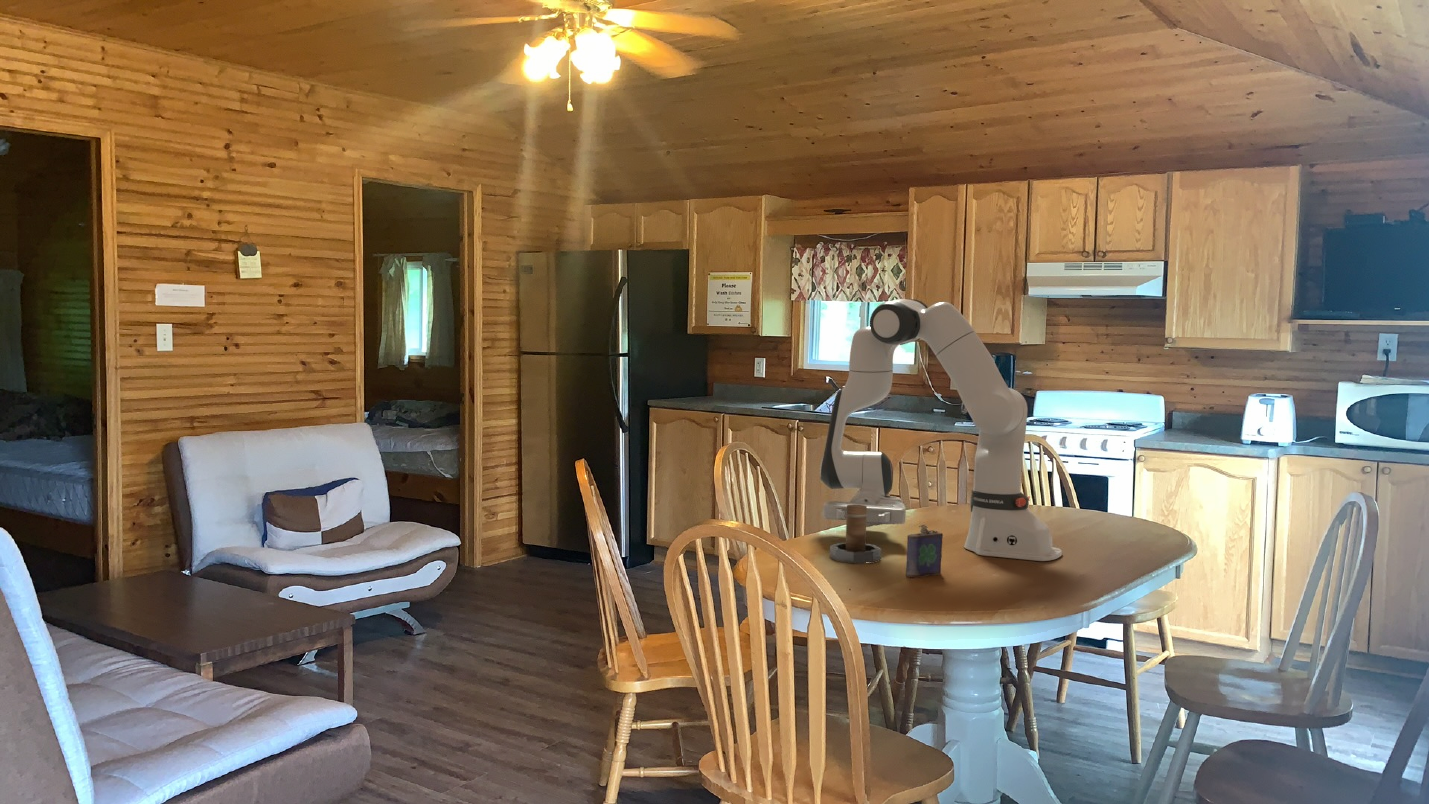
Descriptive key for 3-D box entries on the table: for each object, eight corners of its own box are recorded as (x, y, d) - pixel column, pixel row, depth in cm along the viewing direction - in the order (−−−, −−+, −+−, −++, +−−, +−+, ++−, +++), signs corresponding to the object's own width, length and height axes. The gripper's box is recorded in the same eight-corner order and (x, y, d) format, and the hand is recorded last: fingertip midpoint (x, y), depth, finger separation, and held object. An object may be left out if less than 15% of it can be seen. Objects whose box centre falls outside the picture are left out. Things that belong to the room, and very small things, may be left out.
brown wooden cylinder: (868, 557, 244) (870, 506, 244) (859, 561, 241) (861, 508, 240) (850, 555, 247) (852, 503, 246) (841, 558, 243) (843, 506, 242)
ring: (886, 557, 245) (887, 546, 245) (866, 565, 236) (866, 554, 236) (844, 551, 251) (844, 540, 251) (823, 558, 242) (823, 548, 242)
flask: (911, 578, 225) (912, 528, 224) (901, 575, 227) (903, 525, 227) (943, 574, 229) (945, 525, 229) (934, 571, 232) (936, 522, 231)
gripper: (825, 493, 270) (818, 501, 256) (907, 498, 265) (904, 507, 252) (825, 518, 270) (817, 527, 257) (906, 523, 265) (903, 533, 252)
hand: (861, 517), depth 254 cm, fingers open, 8 cm apart
